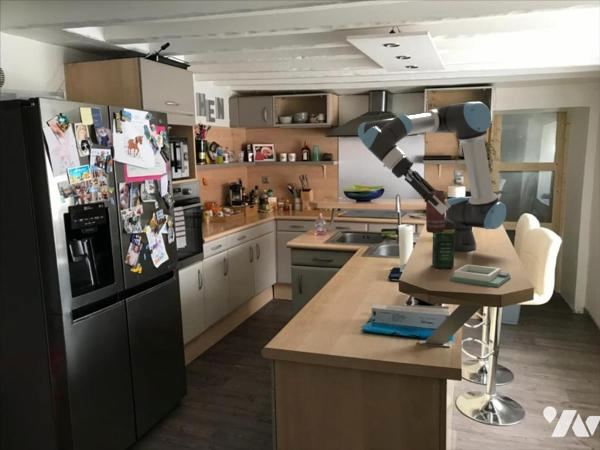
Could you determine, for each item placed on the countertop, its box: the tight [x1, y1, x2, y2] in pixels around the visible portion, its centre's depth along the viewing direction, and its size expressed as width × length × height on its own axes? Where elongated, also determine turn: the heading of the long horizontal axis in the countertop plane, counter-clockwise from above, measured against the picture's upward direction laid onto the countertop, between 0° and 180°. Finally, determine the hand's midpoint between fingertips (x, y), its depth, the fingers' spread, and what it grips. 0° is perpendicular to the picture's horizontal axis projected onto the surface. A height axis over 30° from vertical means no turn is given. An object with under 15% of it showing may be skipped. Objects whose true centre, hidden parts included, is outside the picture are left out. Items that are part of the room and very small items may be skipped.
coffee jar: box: [431, 217, 455, 270], centre depth 188 cm, size 10×8×19 cm
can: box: [425, 190, 446, 234], centre depth 168 cm, size 6×6×14 cm
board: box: [449, 264, 511, 288], centre depth 169 cm, size 14×16×3 cm
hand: (446, 210), depth 166 cm, fingers closed on can, 6 cm apart
